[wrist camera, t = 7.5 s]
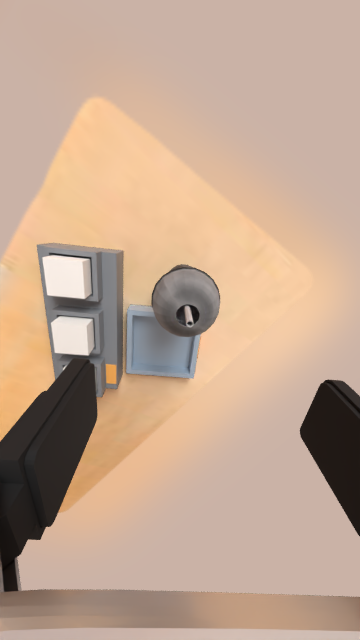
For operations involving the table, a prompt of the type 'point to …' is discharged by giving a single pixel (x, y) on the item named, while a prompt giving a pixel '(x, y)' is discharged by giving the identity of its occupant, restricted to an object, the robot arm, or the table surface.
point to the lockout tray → (157, 347)
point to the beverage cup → (185, 301)
